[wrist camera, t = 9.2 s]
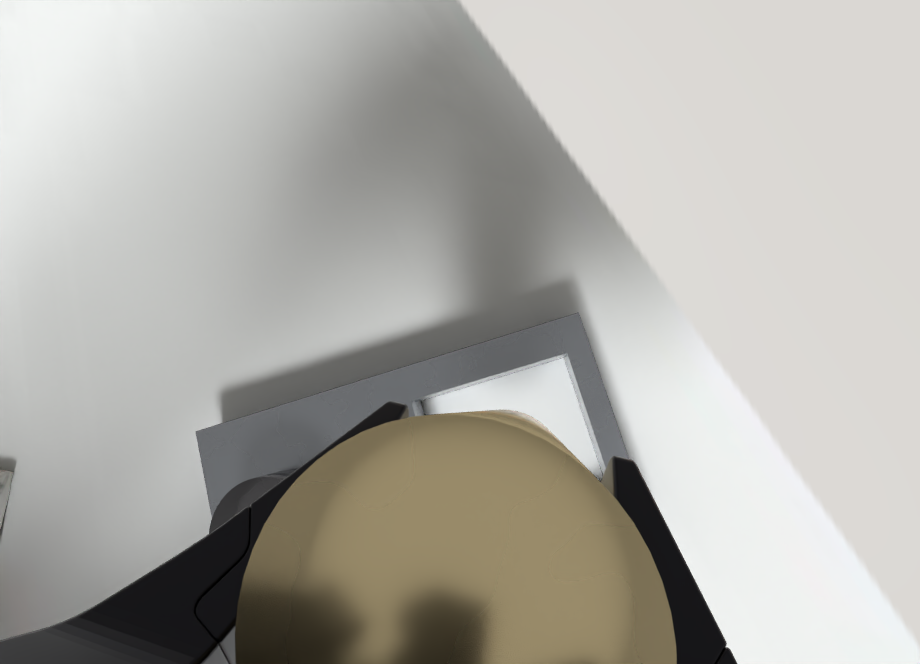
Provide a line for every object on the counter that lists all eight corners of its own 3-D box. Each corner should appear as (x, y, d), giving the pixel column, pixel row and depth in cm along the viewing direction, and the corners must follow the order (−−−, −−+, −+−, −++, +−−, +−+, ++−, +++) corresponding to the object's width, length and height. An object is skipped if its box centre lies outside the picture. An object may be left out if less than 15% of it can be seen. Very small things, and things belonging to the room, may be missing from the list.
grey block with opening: (264, 642, 23) (203, 696, 19) (221, 429, 25) (157, 434, 21) (648, 538, 22) (679, 572, 17) (574, 320, 23) (584, 300, 19)
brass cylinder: (462, 551, 16) (288, 944, 4) (428, 429, 17) (198, 479, 5) (584, 517, 16) (752, 839, 4) (543, 394, 16) (585, 361, 5)
